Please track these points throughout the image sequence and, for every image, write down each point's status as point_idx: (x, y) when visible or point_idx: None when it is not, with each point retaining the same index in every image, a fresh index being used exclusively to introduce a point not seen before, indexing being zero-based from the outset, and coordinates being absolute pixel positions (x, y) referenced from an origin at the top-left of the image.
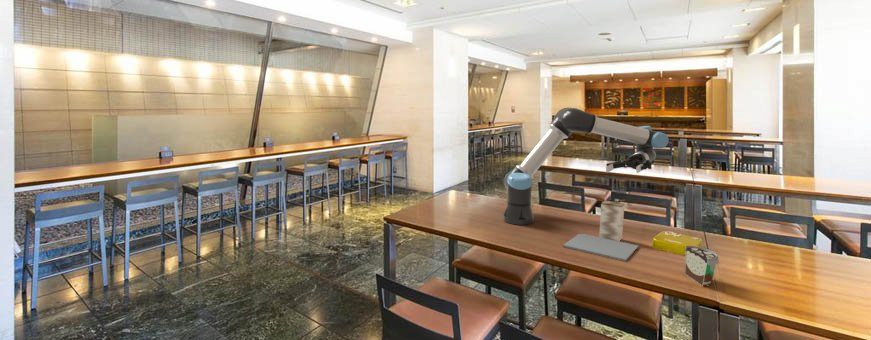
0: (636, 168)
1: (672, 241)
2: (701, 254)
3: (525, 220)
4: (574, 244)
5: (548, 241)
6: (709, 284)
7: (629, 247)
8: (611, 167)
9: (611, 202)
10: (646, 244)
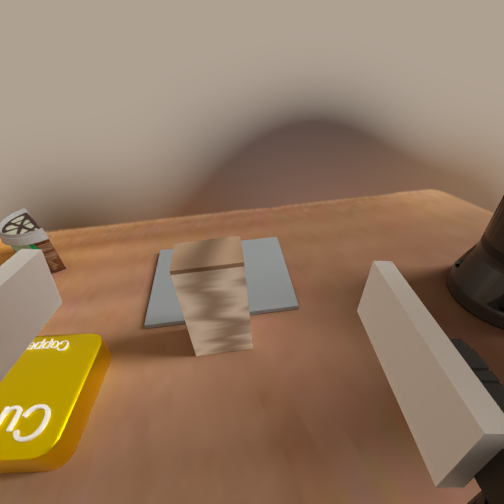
0: (45, 264)
1: (48, 341)
2: (26, 221)
3: (451, 270)
4: (262, 248)
5: (314, 242)
6: None
7: (163, 300)
8: (419, 386)
9: (214, 256)
10: (126, 364)
